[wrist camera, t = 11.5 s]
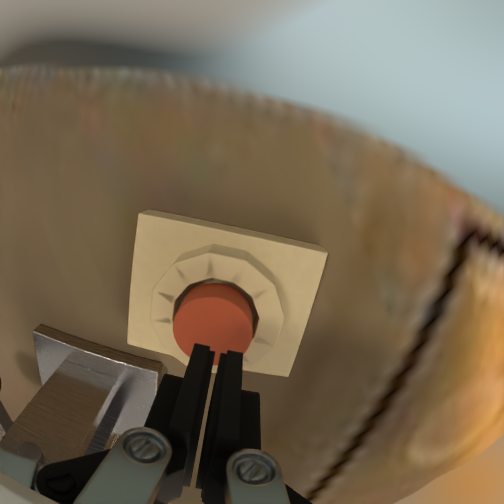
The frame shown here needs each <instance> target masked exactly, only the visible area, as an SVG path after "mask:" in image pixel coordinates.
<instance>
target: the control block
mask: <svg viewBox="0 0 504 504" xmlns="http://www.w3.org/2000/svg"><path fill="white" fill-rule="evenodd" d="M327 255H328V253H327V252H326V251H325V250H324V249H323V247H322V246H320V245H316V244H312V243H308V242H303V241H299V240H294V239H290V238H285V237H280V236H276V235H271V234H267V233H262V232H258V231H253V230H248V229H244V228H239V227H234V226H229V225H225V224H220V223H215V222H210V221H205V220H201V219H196V218H191V217H186V216H181V215H176V214H171V213H166V212H161V211H156V210H151V209H148V210H146V211H143V212H141V213H139V216H138V223H137V230H136V238H135V247H134V255H133V265H132V275H131V287H130V301H129V317H128V340H127V343H128V344H131V345H134V346H138V347H141V348H145V349H149V350H153V351H157V352H161V353H165V354H169V355H173V356H174V357H175V358H177V359H178V360H179V361H181V362H182V363H183V364H185V365H186V366H188V362H189V359H190V357H188V356H187V355H186V354H185V353H184V352H183V351H182V350H181V349H180V348H179V346H178V344H177V343H176V340H175V338H174V334H173V322H174V318H175V316H176V313H177V311H178V309H179V307H180V305H181V303H182V301H183V299H184V297H185V296H186V295H187V294H188V293H189V292H190V291H191V290H192V289H194V288H196V287H197V286H200V285H203V284H207V283H220V284H225V285H228V286H230V287H233V288H234V289H236V290H237V291H239V292H240V293H241V294H242V295H243V296H244V297H245V298H246V300H247V301H248V303H249V305H250V307H251V311H252V329H253V333H252V341H251V344H250V346H249V348H248V349H247V351H246V352H245V353H244V354H243V369H242V370H246V371H252V372H258V373H265V374H271V375H278V376H286V377H288V376H289V374H290V371H291V368H292V365H293V362H294V359H295V357H296V354H297V351H298V348H299V345H300V342H301V339H302V336H303V333H304V330H305V327H306V324H307V321H308V318H309V315H310V311H311V308H312V305H313V302H314V299H315V295H316V292H317V289H318V286H319V282H320V279H321V276H322V272H323V269H324V265H325V262H326V258H327ZM217 367H218V365H213V368H212V372H213V373H216V372H217Z"/></svg>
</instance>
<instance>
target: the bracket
mask: <svg viewBox="0 0 504 504" xmlns="http://www.w3.org/2000/svg"><path fill="white" fill-rule="evenodd" d="M33 336H34V343H35V350H36V356H37V362H38V367H39V372H40V377H41V382H42V387H41V389H40V390H39V391H38V392H37V394H36V395H35V396H34V397H33V399H32V400H31V401H30V402H29V404H28V405H27V406H26V407H25V409H24V410H23V411H22V413H21V414H20V415H19V416H18V418H17V419H16V420H15V422H14V423H13V424H12V426H11V427H10V428H9V430H8V431H7V432H6V434H5V435H4V436H3V438H2V439H1V440H0V448H1V449H4V450H7V451H10V452H12V453H15V454H18V455H21V456H24V457H28V458H31V459H34V460H37V461H38V463H39V464H42V465H45V466H46V465H48V464H51V463H56V462H60V461H65V460H69V459H73V458H77V457H81V456H85V455H89V454H93V453H97V452H100V451H104V450H108V449H109V448H110V446H111V443H112V441H113V439H114V437H115V434H116V433H117V434H120V435H122V434H123V433H124V432H125V431H127V430H129V429H131V428H136V427H144V424H145V422H146V419H147V416H148V414H149V411H150V409H151V406H152V404H153V401H154V399H155V396H156V394H157V391H158V389H159V386H160V379H161V367H162V363H161V362H157V361H153V360H149V359H145V358H141V357H138V356H134V355H131V354H127V353H124V352H120V351H117V350H114V349H110V348H107V347H104V346H101V345H98V344H95V343H92V342H88V341H85V340H83V339H80V338H77V337H74V336H71V335H68V334H65V333H63V332H60V331H57V330H55V329H52V328H49V327H47V326H44V325H42V324H40V325H39V326H38V327H37V328H36V329H35V330H33Z"/></svg>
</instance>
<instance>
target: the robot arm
mask: <svg viewBox="0 0 504 504" xmlns="http://www.w3.org/2000/svg"><path fill="white" fill-rule="evenodd" d="M215 352H216V351H211V350H210V346H207V345H203V344H198V343H195V344H194V347H193V350H192V353H191V356H190V359H189V362H188V366H187V369H186V372H185V375H184V378H182V377H178V376H174V375H170V374H166V373H165V374H164V376H163V379H162V381H161V384H160V386H159V389H158V391H157V394H156V396H155V399H154V401H153V404H152V406H151V409H150V411H149V414H148V416H147V419H146V422H145V424H144V427H136V428H131V429H129V430H127V431H125V432H124V433H123V434H122V435H121V436H120V437H119V438H118V440H117V441H116V442H115V444H114V445H113V447H112V448H111V449H108V450H104V451H100V452H97V453H93V454H89V455H85V456H81V457H77V458H73V459H69V460H65V461H60V462H56V463H51V464H48V465H46V466H45V465H42V464H39V463H38V461H37V460H34V459H31V458H28V457H24V456H21V455H18V454H15V453H12V452H10V451H7V450H4V449H1V448H0V504H168V502H170V501H172V500H174V499H177V498H179V497H180V496H181V494H182V489H183V486H188V487H190V483H191V478H192V473H193V467H194V462H195V457H196V451H197V446H198V441H199V435H200V430H201V425H202V420H203V414H204V409H205V404H206V399H207V393H208V388H209V383H210V378H211V373H212V368H213V363H214V357H215ZM242 369H243V353H242V352H236V351H231V350H227V354H225V353H220V358H219V363H218V367H217V372H216V377H215V382H214V386H213V391H212V396H211V401H210V406H209V411H208V416H207V422H206V428H205V433H204V439H203V445H202V451H201V457H200V463H199V469H198V475H197V481H196V488H198V489H202V493H201V498H202V502H203V503H204V504H312V503H311V502H309V501H308V500H306V499H305V498H304V497H302V496H301V495H300V494H298V493H297V492H296V491H294V490H293V489H292V488H290V487H289V486H288V485H286V484H285V483H284V479H283V475H282V472H281V468H280V466H279V464H278V462H277V461H276V460H275V459H274V458H273V457H272V456H271V455H269V454H268V453H266V452H263V451H261V431H260V395H259V393H258V392H252V391H246V390H241V387H242Z"/></svg>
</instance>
